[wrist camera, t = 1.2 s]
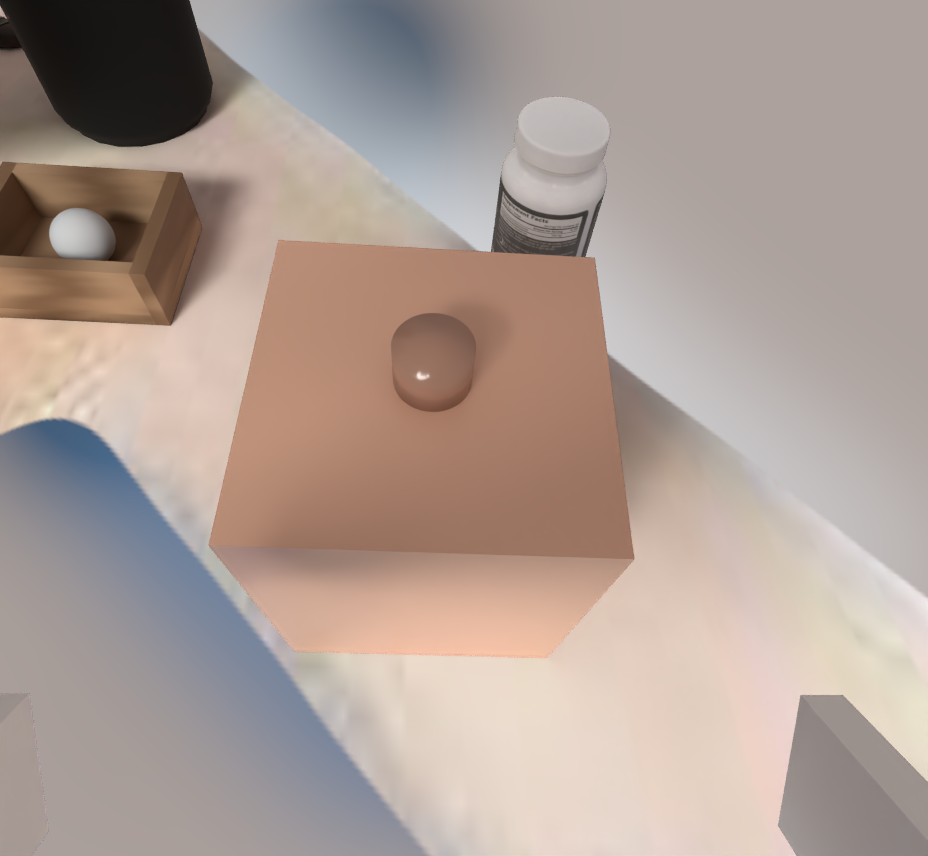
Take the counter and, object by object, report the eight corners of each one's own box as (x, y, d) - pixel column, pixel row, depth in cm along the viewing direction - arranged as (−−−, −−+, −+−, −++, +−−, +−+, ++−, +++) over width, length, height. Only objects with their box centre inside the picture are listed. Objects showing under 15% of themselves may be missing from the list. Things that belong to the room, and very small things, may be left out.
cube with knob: (294, 651, 27) (189, 521, 15) (325, 431, 33) (269, 201, 20) (547, 657, 28) (653, 537, 15) (535, 440, 33) (606, 221, 21)
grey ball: (57, 277, 36) (28, 234, 33) (76, 238, 38) (49, 193, 35) (115, 280, 36) (90, 237, 33) (131, 241, 38) (109, 197, 35)
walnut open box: (-12, 316, 35) (-59, 264, 32) (38, 217, 39) (2, 161, 36) (170, 325, 36) (144, 274, 32) (202, 227, 40) (182, 172, 36)
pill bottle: (527, 224, 42) (555, 76, 33) (596, 268, 40) (644, 124, 32) (470, 268, 39) (485, 121, 31) (541, 318, 38) (577, 176, 29)
